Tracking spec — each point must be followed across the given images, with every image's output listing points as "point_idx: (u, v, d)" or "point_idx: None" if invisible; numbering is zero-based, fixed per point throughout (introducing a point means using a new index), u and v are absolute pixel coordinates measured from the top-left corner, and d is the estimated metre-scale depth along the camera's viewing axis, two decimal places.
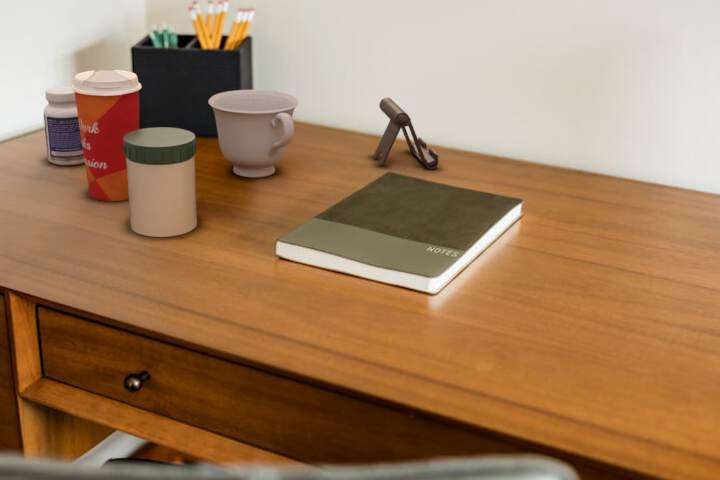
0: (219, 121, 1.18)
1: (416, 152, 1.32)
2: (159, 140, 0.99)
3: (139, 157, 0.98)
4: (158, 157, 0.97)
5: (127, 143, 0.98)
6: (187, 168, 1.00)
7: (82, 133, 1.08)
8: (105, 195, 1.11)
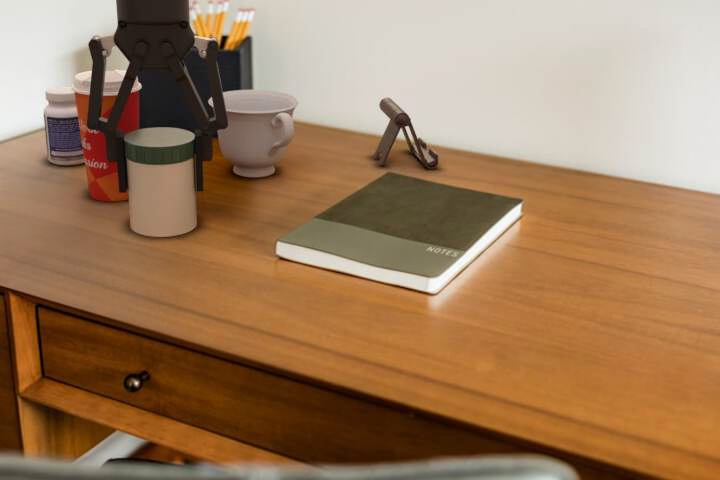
0: None
1: (416, 152, 1.32)
2: (159, 140, 0.99)
3: (139, 157, 0.98)
4: (158, 157, 0.97)
5: (127, 143, 0.98)
6: (187, 168, 1.00)
7: (82, 133, 1.08)
8: (105, 195, 1.11)
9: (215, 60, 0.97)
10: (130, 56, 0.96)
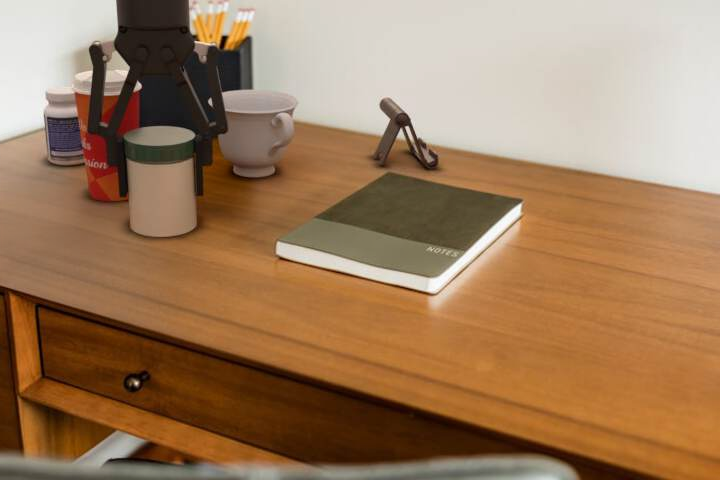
0: None
1: (416, 152, 1.32)
2: (171, 134, 1.01)
3: (194, 149, 1.01)
4: None
5: (184, 143, 0.99)
6: (187, 168, 1.00)
7: (82, 133, 1.08)
8: (105, 195, 1.11)
9: (215, 65, 0.97)
10: (130, 61, 0.96)
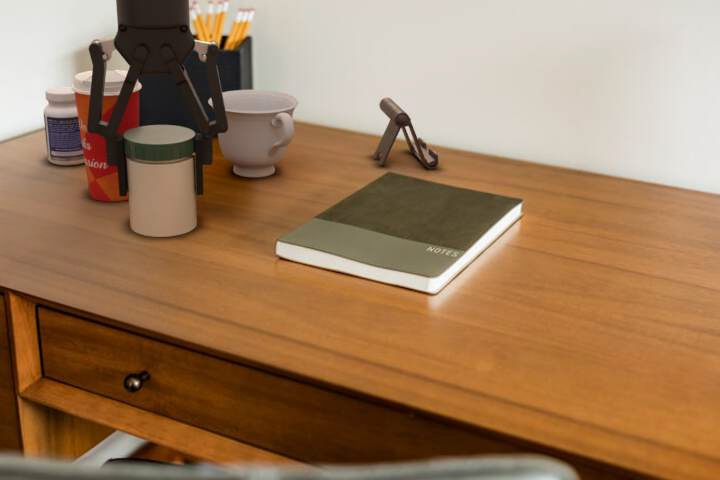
0: None
1: (416, 152, 1.32)
2: (153, 131, 1.01)
3: None
4: None
5: None
6: (187, 168, 1.00)
7: (82, 133, 1.08)
8: (105, 195, 1.11)
9: (215, 64, 0.97)
10: (130, 60, 0.96)
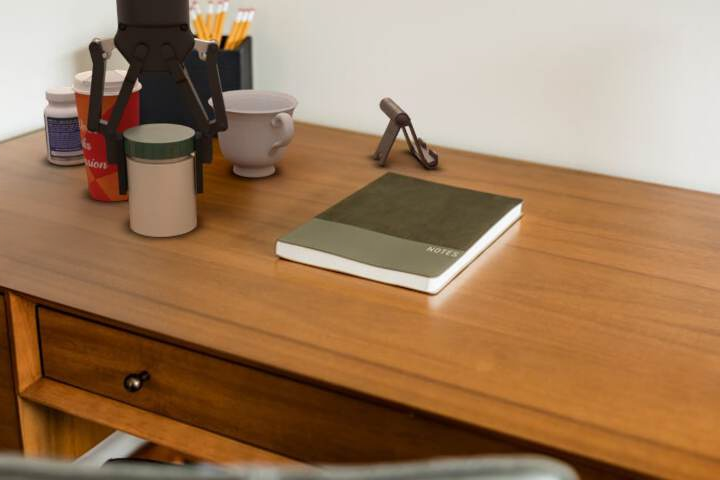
0: None
1: (416, 152, 1.32)
2: (150, 135, 0.99)
3: (124, 147, 0.99)
4: (132, 150, 0.98)
5: None
6: (187, 168, 1.00)
7: (82, 133, 1.08)
8: (105, 195, 1.11)
9: (215, 62, 0.97)
10: (130, 59, 0.96)
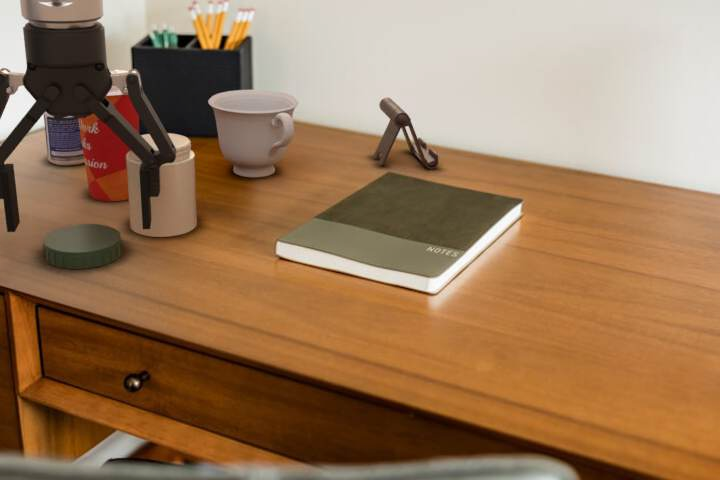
0: (219, 121, 1.18)
1: (416, 152, 1.32)
2: (92, 233, 0.96)
3: (121, 244, 0.97)
4: None
5: (118, 241, 0.95)
6: (187, 168, 1.00)
7: (82, 133, 1.08)
8: (105, 195, 1.11)
9: None
10: None
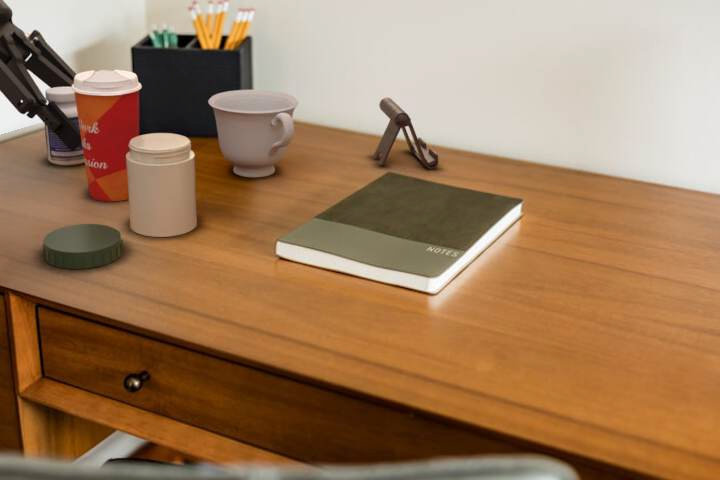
0: (219, 121, 1.18)
1: (416, 152, 1.32)
2: (92, 233, 0.96)
3: (121, 244, 0.97)
4: None
5: (118, 241, 0.95)
6: (187, 168, 1.00)
7: (82, 133, 1.08)
8: (105, 195, 1.11)
9: (45, 41, 1.26)
10: (4, 48, 1.18)
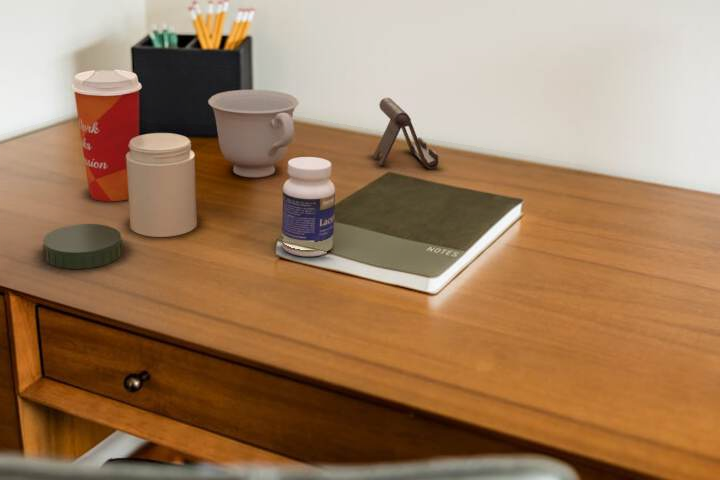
0: (219, 121, 1.18)
1: (416, 152, 1.32)
2: (92, 233, 0.96)
3: (121, 244, 0.97)
4: None
5: (118, 241, 0.95)
6: (187, 168, 1.00)
7: (82, 133, 1.08)
8: (105, 195, 1.11)
9: None
10: None
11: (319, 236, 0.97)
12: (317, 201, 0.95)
